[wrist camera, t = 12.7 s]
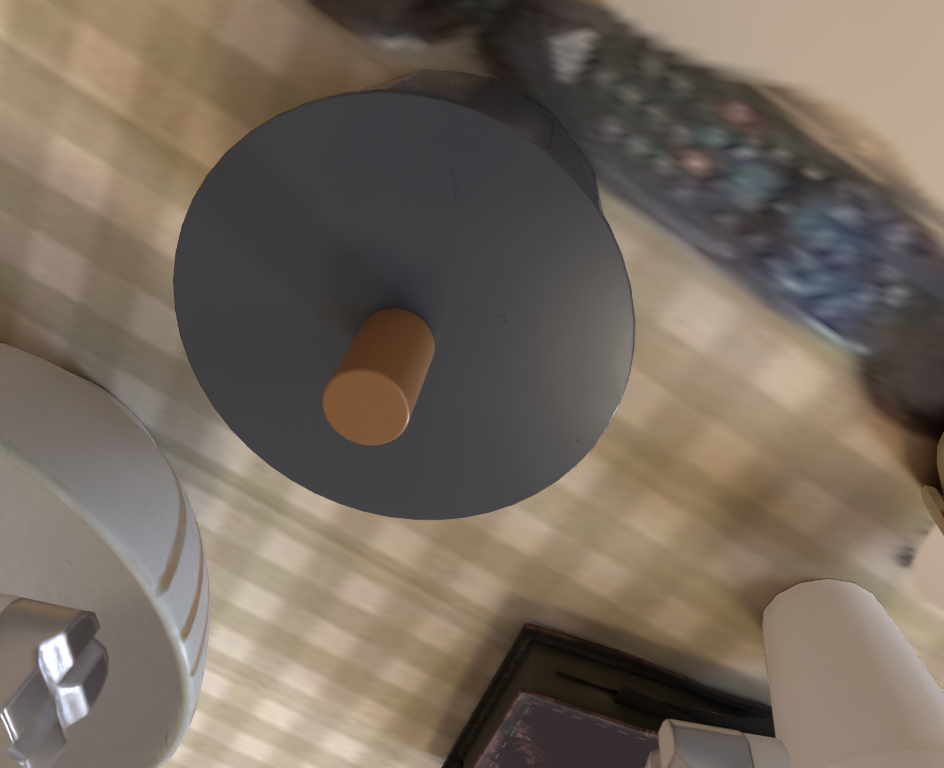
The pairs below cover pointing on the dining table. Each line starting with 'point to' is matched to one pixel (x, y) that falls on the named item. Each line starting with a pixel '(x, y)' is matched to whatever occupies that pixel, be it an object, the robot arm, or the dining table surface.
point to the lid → (404, 304)
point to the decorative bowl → (104, 554)
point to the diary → (587, 708)
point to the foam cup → (848, 682)
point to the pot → (503, 113)
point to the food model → (934, 502)
